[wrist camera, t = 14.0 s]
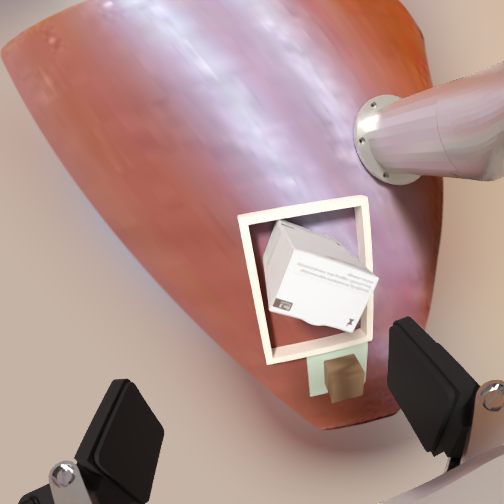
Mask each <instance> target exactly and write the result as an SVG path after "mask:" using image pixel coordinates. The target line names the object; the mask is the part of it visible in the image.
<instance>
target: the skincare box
mask: <svg viewBox="0 0 504 504" xmlns="http://www.w3.org/2000/svg"><path fill="white" fill-rule="evenodd" d="M263 263H264V271H265V280H266V288H267V296H268V305H269V311H270V312H275V313H278V314H282V315H286V316H290V317H294V318H298V319H302V320H304V321H306V322H307V323H309V324H312V325H317V326H322V325H325V326H329V327H333V328H337V329H340V330H343V331H346V332H349V333H353V331H354V329H355V327H356V325H357V323H358V322H359V320H360V317H361V316H362V314H363V311H364V309H365V307H366V305H367V303H368V301H369V299H370V297H371V295H372V293H373V291H374V289H375V287H376V285H377V282H378V280H379V278H378V277H376V276H375V275H374V274H373V273H372V272H371V271H370V270H369V269H368V268H367V267H366V266H364V265H363V264H362V263H361V262H360V261H359V260H358V259H357V258H356V257H355V256H354V255H353V254H352V253H350V252H349V251H348V250H347V249H346V248H345V247H344V246H342V245H341V244H340V243H339V242H338V241H337V240H336V239H335V238H333V237H332V236H329V235H325V234H321V233H318V232H315V231H312V230H309V229H307V228H304V227H301V226H299V225H296V224H293V223H291V222H288V221H286V220H284V219H278V220H276V222H275V225H274V228H273V231H272V234H271V236H270V239H269V242H268V245H267V247H266V250H265V253H264V256H263Z"/></svg>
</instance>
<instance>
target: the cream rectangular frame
mask: <svg viewBox="0 0 504 504" xmlns="http://www.w3.org/2000/svg"><path fill="white" fill-rule="evenodd" d="M350 207H354V210H355V220H356V231H357V243H358V257H359V261H360V262H361V263H362V264H363V265H364V266H366V267H367V268H368V269H369V270H370V271H371V272H372V273H373V261H372V242H371V228H370V216H369V205H368V197H367V196H362V195H356V196H349V197H342V198H335V199H329V200H322V201H316V202H310V203H304V204H298V205H292V206H286V207H280V208H274V209H269V210H263V211H258V212H252V213H247V214H241V215H238V221H239V226H240V231H241V237H242V242H243V247H244V252H245V257H246V262H247V267H248V272H249V277H250V283H251V288H252V293H253V298H254V303H255V308H256V313H257V318H258V323H259V328H260V333H261V338H262V343H263V347H264V352H265V357H266V362H267V365H269V364H275V363H280V362H285V361H290V360H295V359H300V358H305V357H309V356H314V355H318V354H322V353H326V352H331V351H335V350H339V349H342V348H346V347H350V346H354V345H357V344H361V343H364V342H368V341H371V340H372V336H373V293H372V295H371V297H370V299H369V301H368V303H367V305H366V307H365V309H364V311H363V314H362V316H361V328H360V329H356V330H354V331H353V333H349V332H344V333H340V334H336V335H332V336H328V337H324V338H319V339H315V340H311V341H306V342H301V343H297V344H292V345H287V346H282V347H276V348H271V344H270V339H269V334H268V328H267V323H266V317H265V312H264V307H263V301H262V296H261V291H260V285H259V280H258V275H257V269H256V264H255V258H254V253H253V248H252V242H251V237H250V232H249V226H248V225H251V224H256V223H262V222H267V221H273V220H278V219H284V218H290V217H296V216H301V215H307V214H313V213H319V212H325V211H331V210H337V209H344V208H350Z"/></svg>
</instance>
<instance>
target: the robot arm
mask: <svg viewBox="0 0 504 504" xmlns="http://www.w3.org/2000/svg"><path fill="white" fill-rule="evenodd" d="M371 105H372V106H371ZM353 136H354V144H355V147H356V150H357V153H358V156H359V158H360V160H361V162H362V163H363V164H364V166H365V167H366V169H367V170H368V171H369V172H370V173H371V174H372V175H373V176H375V177H376V178H377V179H379V180H381V181H383V182H385V183H388V184H393V185H406V184H409V183H412V182H414V181H416V180H417V179H419V178H420V177H421V176H422V175H429V176H441V177H452V178H462V179H470V180H478V181H494V180H497V179H500V178H502V177H504V61H503V62H501V63H498V64H496V65H494V66H492V67H489V68H487V69H485V70H482V71H479V72H476V73H474V74H471V75H468V76H465V77H462V78H459V79H456V80H453V81H450V82H448V83H445V84H441V85H438V86H436V87H433V88H430V89H427V90H424V91H422V92H419V93H416V94H414V95H411V96H408V97H406V98H400V97H397V96H394V95H380V96H377V97H374V98H372V99H370V100H369V101H367V102H366V103H365V104H364V105H363V106H362V107H361V109H360V110H359V111H358V114H357V116H356V118H355V123H354V131H353ZM359 140H361V143H360V142H359ZM383 174H384V177H383ZM387 383H388V387H389V389H390V391H391V393H392V394H393V396H394V398H395V399H396V401H397V402H398V404H399V406H400V408H401V409H402V411H403V412H404V414H405V416H406V418H407V419H408V421H409V423H410V424H411V426H412V428H413V430H414V431H415V433H416V435H417V436H418V438H419V440H420V442H421V443H422V445H423V447H424V449H425V450H426V451H427V452H430V451H431V452H432V454H433V456H434V457H435V456H436V455H438V454H440V453H442V452H445V454H446V455H447V457H448V461H447V464H446V468H445V471H444V474H442V475H440V476H438V477H437V478H435V479H433V480H431V481H429V482H427V483H425V484H423V485H420V486H418V487H416V488H414V489H412V490H409V491H407V492H405V493H402V494H400V495H398V496H395V497H393V498H390V499H388V500H385V501H383V502H380V503H377V504H504V381H501V380H492V381H489V382H486V383H484V384H483V385H482V386H479V385H478V383H477V382H476V381H475V380H474V379H473V378H472V377H471V376H470V375H469V374H468V373H467V372H466V371H465V369H464V368H463V367H462V366H461V365H460V364H459V363H458V362H457V361H456V360H455V359H454V358H453V357H452V356H451V355H450V354H449V353H448V352H447V351H446V350H445V349H444V348H443V347H442V346H441V345H440V344H439V343H436V342H435V341H434V340H433V339H432V338H431V337H430V336H429V335H428V334H427V333H426V332H425V331H424V330H423V329H422V328H421V327H420V326H419V325H418V324H417V323H416V322H415V321H414V320H413V319H412V318H411V317H409V316H407V317H405V318H402V319H399V320H397V321H395V322H394V323H393V326H392V327H390V329H389V359H388V376H387ZM163 437H164V429H163V427H162V425H161V424H160V422H159V421H158V420H157V418H156V416H155V415H154V413H153V412H152V411H151V409H150V407H149V406H148V404H147V403H146V401H145V400H144V398H143V397H142V395H141V393H140V392H139V390H138V389H137V387H136V385H135V384H134V383H133V382H131V381H130V380H128V379H117V380H113V381H112V383H111V385H110V387H109V389H108V390H107V393H106V394H105V396H104V398H103V400H102V402H101V404H100V406H99V408H98V410H97V412H96V414H95V416H94V418H93V420H92V422H91V424H90V426H89V428H88V430H87V432H86V434H85V436H84V438H83V440H82V442H81V444H80V446H79V448H78V451H77V453H76V455H75V457H74V458H75V459H76V460H77V461H78V462H77V464H74V463H73V462H71V461H62V462H59V463H58V464H56V465H55V466H54V467H53V468H52V469H51V471H50V474H49V484H47V485H45V486H43V487H41V488H39V489H36V490H34V491H32V492H30V493H28V494H26V495H24V496H23V497H22V498H21V499H20V501H19V503H18V504H145V503H147V502H148V501H149V498H150V493H151V489H152V483H153V479H154V475H155V471H156V466H157V462H158V458H159V453H160V449H161V445H162V441H163Z"/></svg>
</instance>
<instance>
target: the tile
mask: <svg viewBox="0 0 504 504" xmlns="http://www.w3.org/2000/svg"><path fill="white" fill-rule="evenodd" d="M367 350H368V342H364V343H361V344H357V345H354V346H350V347H346V348H342V349H339V350H335V351H331V352H326V353H322V354H318V355H314V356H309V357H306V362H307V372H308V383H309V394H310V397H312V396H316V395H320V394H325V393H328V391H327V388H326V386H325V383H324V361H326V360H330V359H334V358H338V357H342V356H346V355H350V354H354V355H355V356H356V358H357V360H358V361H359V363H360V365H361V366H362V368H363V370H364V372H365V377H364V382H365V381H366V368H367Z"/></svg>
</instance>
